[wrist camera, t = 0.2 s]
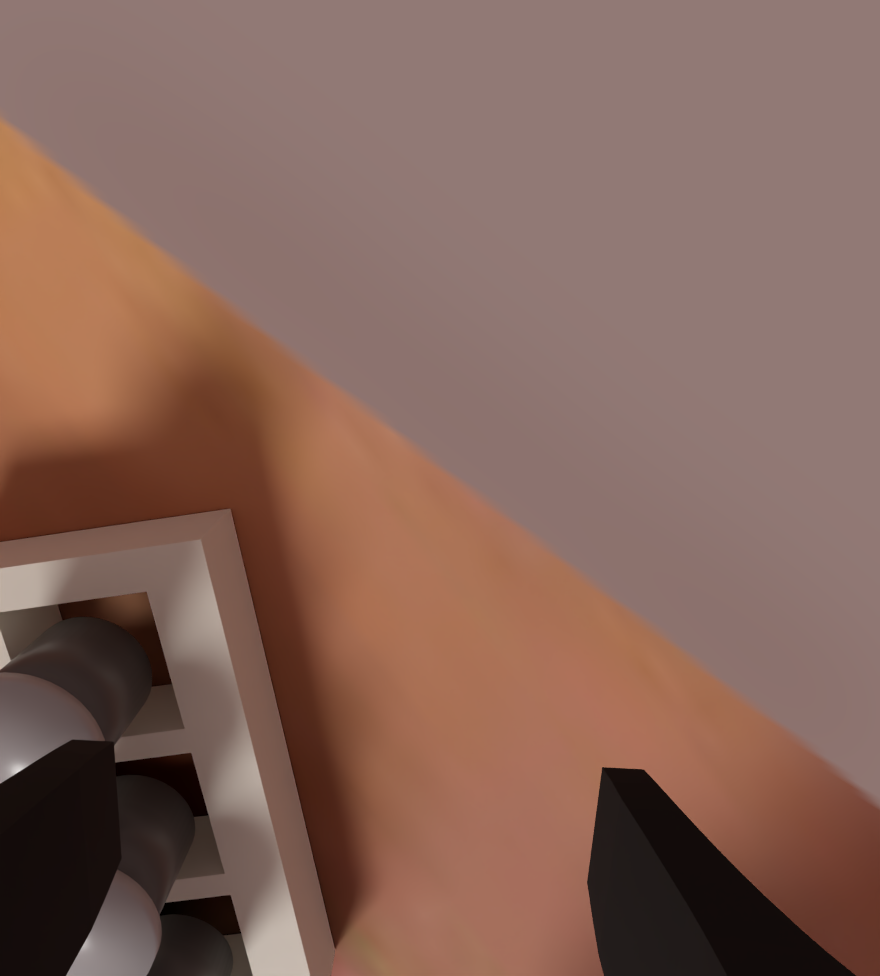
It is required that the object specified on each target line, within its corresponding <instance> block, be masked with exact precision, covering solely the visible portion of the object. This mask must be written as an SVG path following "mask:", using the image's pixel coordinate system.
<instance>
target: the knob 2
mask: <svg viewBox="0 0 880 976" xmlns="http://www.w3.org/2000/svg"><path fill="white" fill-rule="evenodd" d="M160 921H161V927H162V936H161V943H160V947H159V950H158V952H157V954H156V957H155V959H154V961H153V964H152V966H151V968H150V970H149V973H148V974H147V975H146V976H230V975H231V971H232V968H233V955H232V951H231V948H230V946H229V944H228V942H227V940H226V939H225V938H224V936H223V935H222V934H221V933H220V932H219V931H218V930H217V929H216V928H214V927H213V926H211V925H210V924H208V923H206V922H204V921H202V920H200V919H197V918H195V917H191V916H186V915H177V914H171V915H163V916H160Z"/></svg>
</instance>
